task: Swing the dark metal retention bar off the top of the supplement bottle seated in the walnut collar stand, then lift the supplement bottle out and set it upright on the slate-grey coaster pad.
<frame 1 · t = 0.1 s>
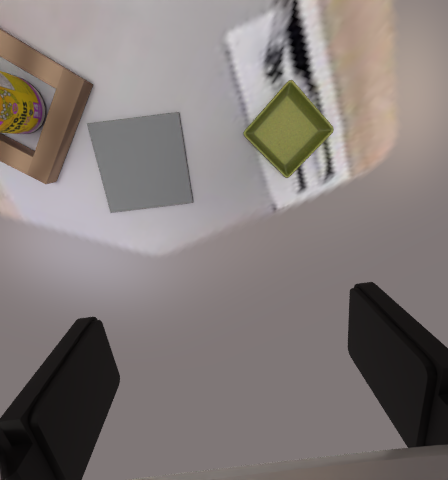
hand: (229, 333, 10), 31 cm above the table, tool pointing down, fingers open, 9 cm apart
collar stand: (20, 106, 35), on the table
supplement bottle: (22, 106, 35), resting in collar stand
coaster pad: (143, 164, 38), on the table
olive square tray: (284, 132, 38), on the table
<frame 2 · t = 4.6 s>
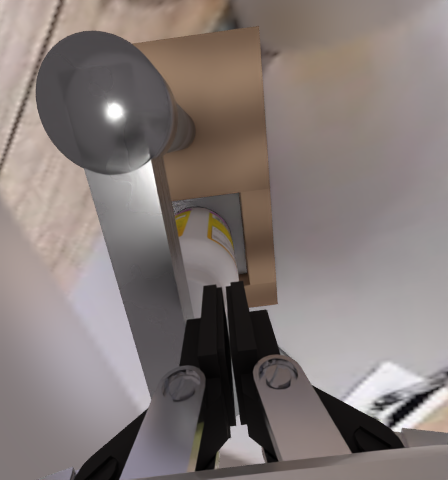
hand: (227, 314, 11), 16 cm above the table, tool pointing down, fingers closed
collar stand: (198, 238, 27), on the table
supplement bottle: (198, 237, 27), resting in collar stand
retention bar: (161, 306, 11), point 16 cm above the table, hinge at 0.0°, touching gripper
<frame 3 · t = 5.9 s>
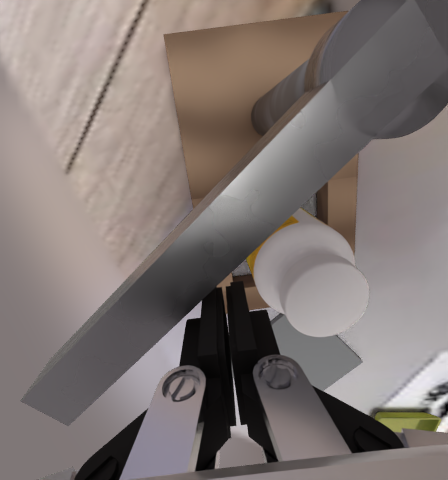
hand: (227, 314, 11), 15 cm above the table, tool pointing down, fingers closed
collar stand: (271, 229, 27), on the table
supplement bottle: (271, 229, 27), resting in collar stand
coaster pad: (291, 360, 32), on the table
retention bar: (209, 240, 9), point 16 cm above the table, hinge at -51.8°, touching gripper
olive square tray: (390, 425, 38), on the table
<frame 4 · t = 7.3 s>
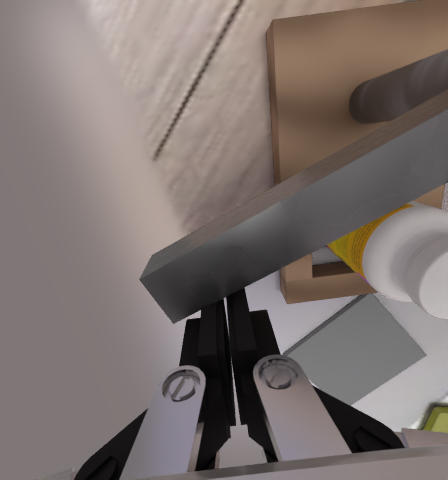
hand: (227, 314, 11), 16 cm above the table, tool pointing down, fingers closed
collar stand: (348, 219, 27), on the table
supplement bottle: (347, 218, 27), resting in collar stand
coaster pad: (353, 352, 32), on the table
retention bar: (391, 163, 9), point 16 cm above the table, hinge at -67.5°, touching gripper
olive square tray: (444, 421, 38), on the table
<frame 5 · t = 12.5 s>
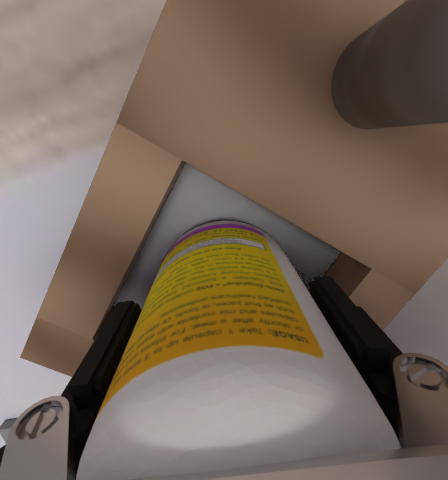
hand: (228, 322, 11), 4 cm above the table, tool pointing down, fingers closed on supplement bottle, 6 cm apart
collar stand: (225, 278, 14), on the table
supplement bottle: (225, 276, 15), resting in collar stand, touching gripper
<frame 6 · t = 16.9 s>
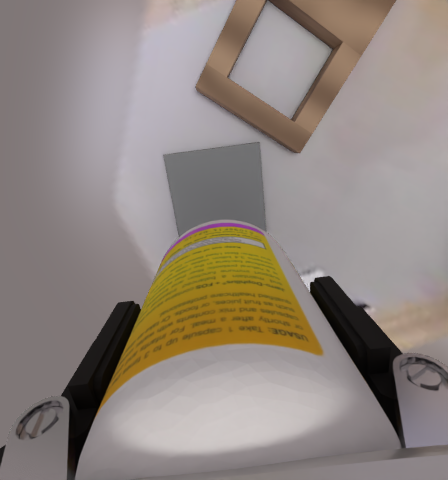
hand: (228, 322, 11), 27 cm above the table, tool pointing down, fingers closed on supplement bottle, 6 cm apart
collar stand: (278, 65, 31), on the table
supplement bottle: (225, 275, 15), point 23 cm above the table, touching gripper
coaster pad: (217, 195, 36), on the table
when the fingers open (6 cm above the table, at t = 21.3 s): supplement bottle drops 2 cm, resting on coaster pad.
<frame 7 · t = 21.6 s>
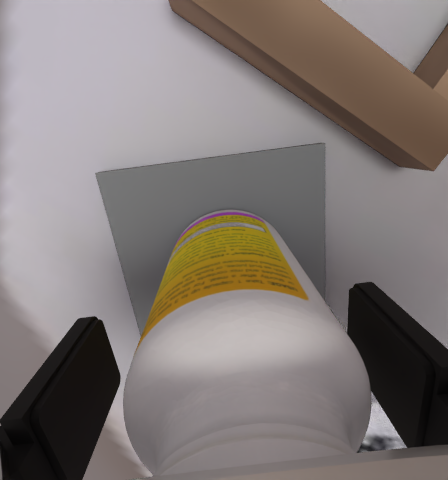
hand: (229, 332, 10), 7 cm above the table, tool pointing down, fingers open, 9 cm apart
supplement bottle: (229, 260, 16), resting on coaster pad
coaster pad: (223, 258, 17), on the table
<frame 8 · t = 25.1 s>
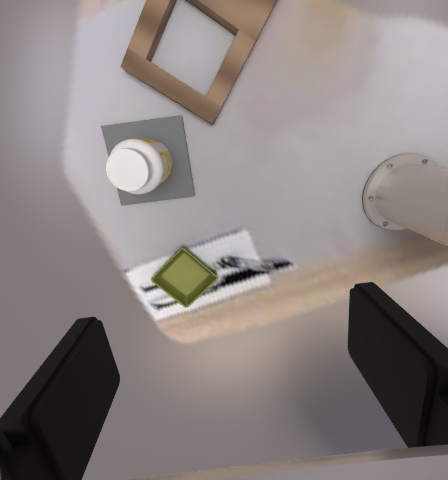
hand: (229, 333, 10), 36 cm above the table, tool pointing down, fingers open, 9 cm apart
collar stand: (193, 50, 38), on the table
supplement bottle: (152, 162, 42), resting on coaster pad
coaster pad: (150, 162, 43), on the table
olive square tray: (185, 273, 50), on the table
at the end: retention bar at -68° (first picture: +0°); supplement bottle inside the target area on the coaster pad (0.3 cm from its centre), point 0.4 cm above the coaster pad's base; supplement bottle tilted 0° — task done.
